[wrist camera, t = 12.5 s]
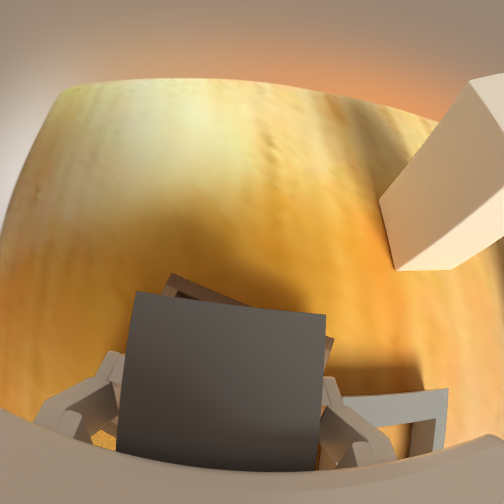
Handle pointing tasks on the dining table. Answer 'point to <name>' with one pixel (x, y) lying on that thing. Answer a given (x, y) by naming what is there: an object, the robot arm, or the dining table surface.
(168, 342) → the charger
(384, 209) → the milk carton
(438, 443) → the power strip
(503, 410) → the dining table surface
